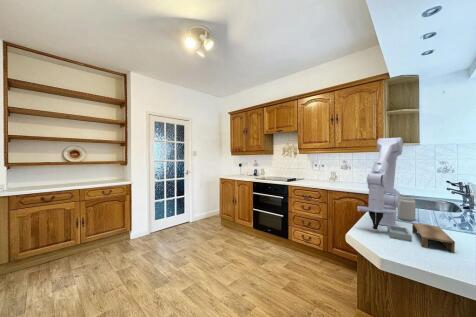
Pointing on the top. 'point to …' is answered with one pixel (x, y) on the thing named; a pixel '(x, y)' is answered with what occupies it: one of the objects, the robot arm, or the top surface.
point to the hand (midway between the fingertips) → (375, 228)
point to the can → (407, 208)
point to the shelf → (433, 235)
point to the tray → (399, 233)
